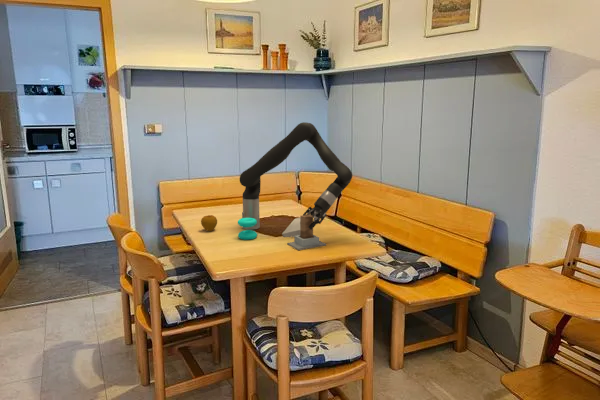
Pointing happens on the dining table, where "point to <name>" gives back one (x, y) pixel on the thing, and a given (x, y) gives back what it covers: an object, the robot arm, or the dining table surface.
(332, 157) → the robot arm
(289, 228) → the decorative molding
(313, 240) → the grey open box
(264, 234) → the dining table surface
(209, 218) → the apple
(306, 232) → the brown cylinder
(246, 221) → the donuts
